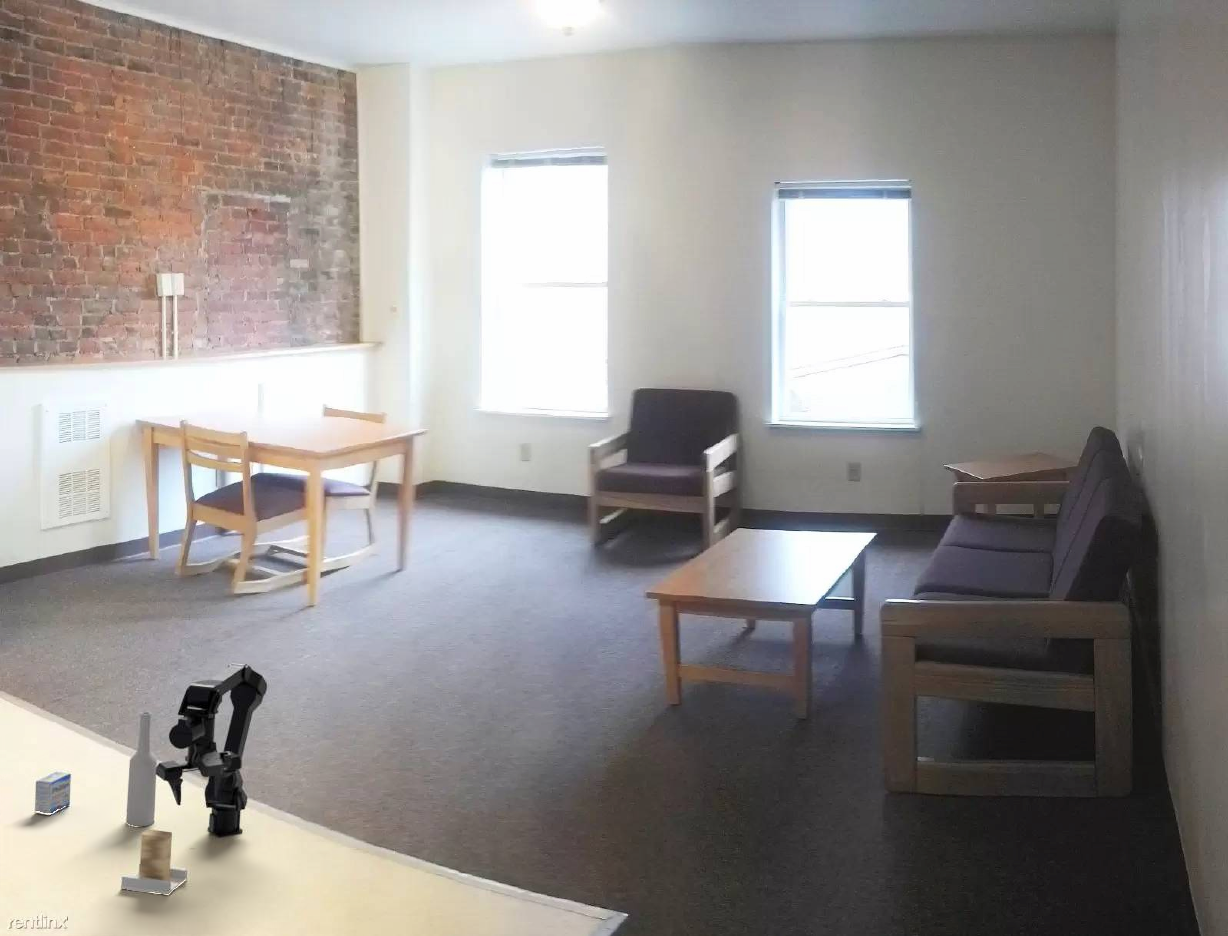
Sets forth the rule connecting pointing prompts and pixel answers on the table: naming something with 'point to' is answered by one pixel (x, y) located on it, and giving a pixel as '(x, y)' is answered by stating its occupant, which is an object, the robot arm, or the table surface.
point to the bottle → (142, 779)
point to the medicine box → (52, 792)
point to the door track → (154, 882)
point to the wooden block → (155, 855)
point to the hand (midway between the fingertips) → (197, 801)
